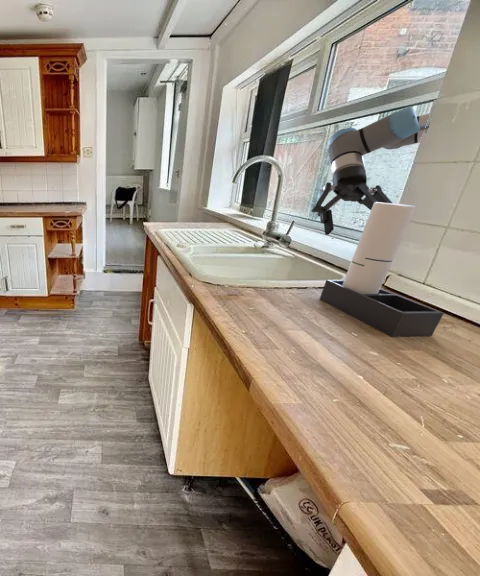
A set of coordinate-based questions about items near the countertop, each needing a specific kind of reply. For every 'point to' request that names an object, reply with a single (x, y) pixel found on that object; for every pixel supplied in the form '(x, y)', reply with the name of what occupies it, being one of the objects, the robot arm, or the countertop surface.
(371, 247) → the cylindrical container
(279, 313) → the countertop surface
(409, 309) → the divided tray
